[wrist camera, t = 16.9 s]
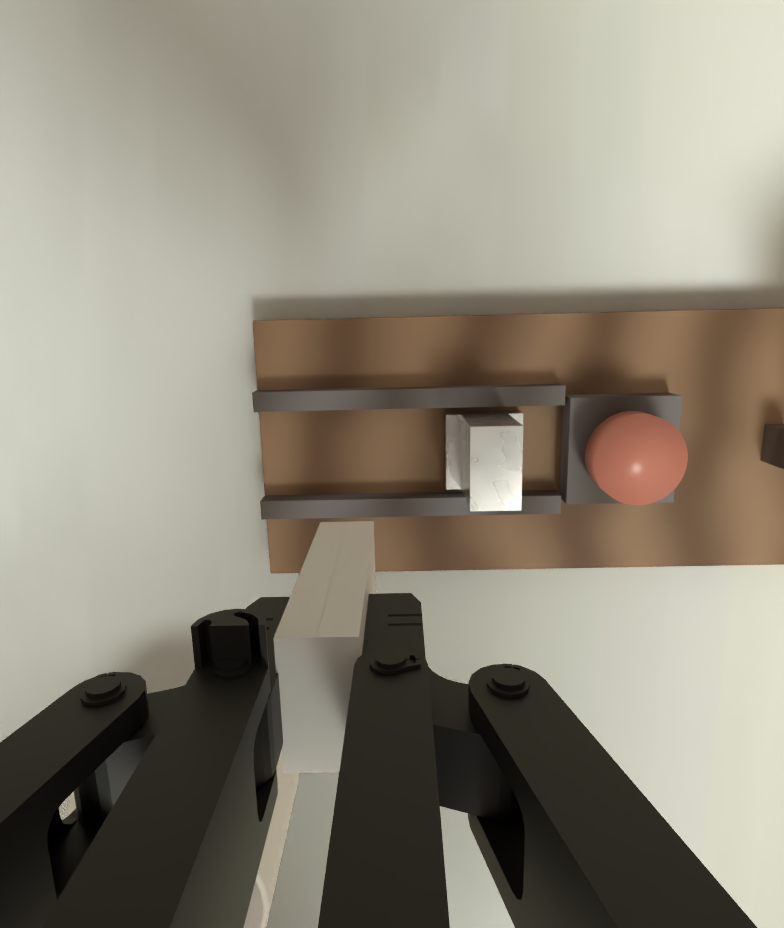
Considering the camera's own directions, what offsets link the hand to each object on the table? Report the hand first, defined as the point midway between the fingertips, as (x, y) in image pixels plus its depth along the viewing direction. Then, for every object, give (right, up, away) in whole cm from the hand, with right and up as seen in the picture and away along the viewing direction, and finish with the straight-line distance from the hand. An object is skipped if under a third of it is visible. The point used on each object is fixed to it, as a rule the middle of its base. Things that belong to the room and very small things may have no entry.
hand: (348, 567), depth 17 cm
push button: (+13, +3, +13) cm, 19 cm away
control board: (+12, +4, +18) cm, 22 cm away
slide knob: (+6, +4, +16) cm, 17 cm away
